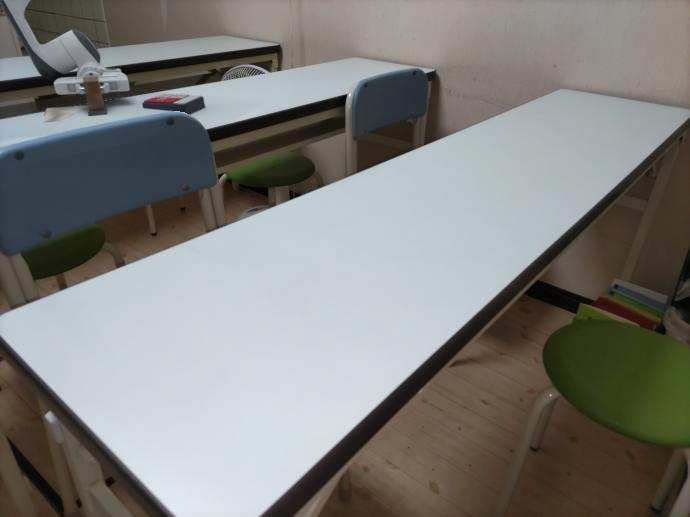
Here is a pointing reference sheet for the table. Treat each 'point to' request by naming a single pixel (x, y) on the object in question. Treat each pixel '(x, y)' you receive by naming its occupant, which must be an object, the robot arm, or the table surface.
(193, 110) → the calculator
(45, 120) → the whiteboard
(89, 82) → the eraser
